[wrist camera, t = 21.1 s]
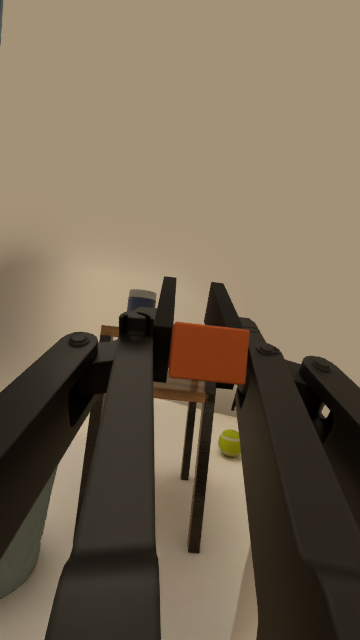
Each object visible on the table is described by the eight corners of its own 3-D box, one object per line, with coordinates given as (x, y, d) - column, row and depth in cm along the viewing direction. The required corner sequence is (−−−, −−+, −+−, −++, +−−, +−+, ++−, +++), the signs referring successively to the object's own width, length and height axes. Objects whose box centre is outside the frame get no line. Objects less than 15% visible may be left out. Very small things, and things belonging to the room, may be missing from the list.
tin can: (151, 331, 51) (156, 291, 51) (122, 327, 50) (127, 288, 51) (152, 331, 56) (157, 295, 57) (127, 328, 56) (131, 292, 56)
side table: (199, 553, 37) (221, 338, 38) (72, 544, 36) (101, 325, 38) (187, 476, 57) (202, 337, 58) (106, 469, 56) (124, 328, 58)
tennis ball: (238, 464, 65) (241, 437, 65) (213, 456, 68) (216, 430, 68) (244, 454, 71) (247, 430, 71) (221, 447, 74) (223, 424, 74)
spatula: (310, 392, 7) (314, 337, 7) (100, 370, 7) (107, 313, 7) (197, 347, 34) (198, 335, 34) (152, 342, 34) (154, 330, 34)
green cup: (-80, 620, 25) (-60, 494, 26) (-30, 538, 35) (-16, 449, 35) (35, 600, 28) (50, 487, 29) (51, 530, 38) (62, 447, 38)
